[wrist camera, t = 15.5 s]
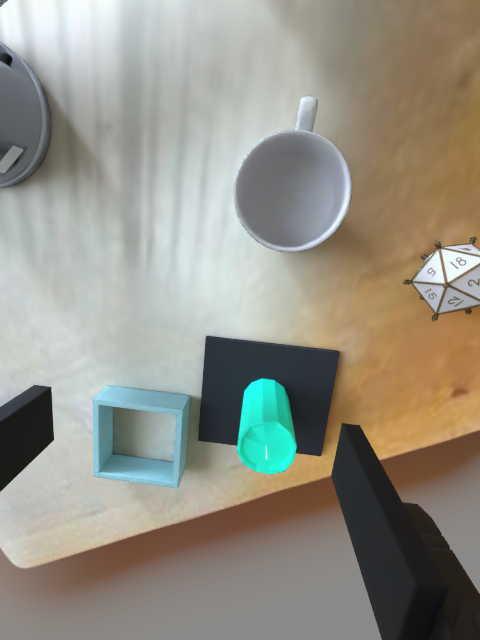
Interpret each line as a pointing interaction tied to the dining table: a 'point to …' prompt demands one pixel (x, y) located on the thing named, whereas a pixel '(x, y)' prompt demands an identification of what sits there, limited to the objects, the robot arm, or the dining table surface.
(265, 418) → the candle
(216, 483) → the dining table surface
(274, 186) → the teacup
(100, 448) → the tub
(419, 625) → the robot arm
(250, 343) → the mat
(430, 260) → the game die
